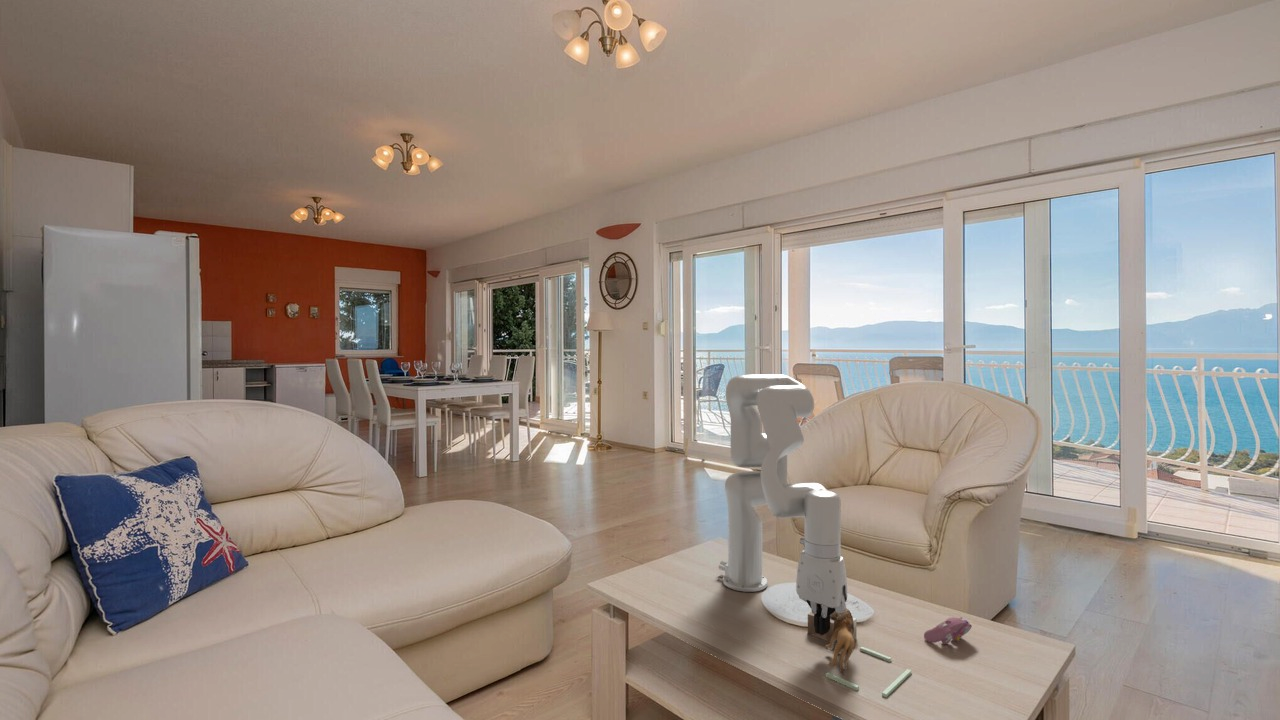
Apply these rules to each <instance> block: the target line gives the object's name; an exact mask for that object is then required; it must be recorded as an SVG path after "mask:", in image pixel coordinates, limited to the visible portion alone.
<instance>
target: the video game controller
mask: <svg viewBox="0 0 1280 720" xmlns="http://www.w3.org/2000/svg"><path fill="white" fill-rule="evenodd" d="M971 629H972V624H971V623H970V622H968V620H967V619H964V618H963V616H960V617H954V616H953V617H948V618H947V619H945V620H944V621H942V622H940V623H938V624H937V625H935V627H933V628H931V629H929V630H926V631H925V632H924V634H923V637H924V640H925V641H926V642H928V643H931V644H932V643H938V642H941V643H942V644H943V645H947V644H949V643H950V642H951V641H953V642H957V641H959V640H961V638H962V637H963V636H965V635H966V634H968V633H969V631H971Z"/></svg>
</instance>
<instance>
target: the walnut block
mask: <svg viewBox="0 0 1280 720" xmlns="http://www.w3.org/2000/svg"><path fill="white" fill-rule="evenodd" d="M853 622H854V633H853V635H852V636H853V639H854V640H856V639H857V633H858V632H857V630H858V629H857V627H858V626H857V625H858V623H857V618H856V617H853ZM833 623H834V621H833V620H831V619H830V630H829V631H828V632H827V633H825V634H824V635H820V634H819V633H818V634H817V633H815V627H814V614H813V613H812V611H810V612H809V613H807V634H809V635H811V636H815V637H817V638H820V639H822V640H825V641H828V642H830V641H831V637H832V635H833V633H834V632H833V628H834V625H833ZM834 645H837V640H836V641H835V643H834Z"/></svg>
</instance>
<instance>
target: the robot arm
mask: <svg viewBox="0 0 1280 720" xmlns="http://www.w3.org/2000/svg"><path fill="white" fill-rule="evenodd" d="M725 401H726V405H727V409H728V412H729V417H730V458H731V463H732V464H733V465H735V466H736V467H738V468H745V469H746V468H747V469H748V468H761V469H760V470H758V471H757V470H754V471H753V470H751V471H739V472H735V473H731V474H730V475H729V476H728V477H727V478H726V479H725V482H724V493H725V498H726V505H727V521H728V522H727V530H728V531H727V535H728V537H727V543H728V544H727V548H728V549H727V551H728V553H727V560H723V559H722V560H721V561H720V562H719V564H718V567H717V568H718V569H719V570H720V571H724V575H723V576H722V584H723V585H724V586H725V587H727V588H728V589H730V590H734V591H737V592H744V593H745V592H746V593H751V592H752V593H754V592H759V591H762V590H765V589H766V588H767V587H768V585H769V580H768V578H766V577H765V576H764V575H763V520H762V518H761V516H760V515H759V514H758V512H757V511H756V510H755V507H759V506H767V507H768V510H769V512H770V513H771V514H772V515H773V516H774V517H776V518H779V519H789V518H800V517H802V518H804V533H803V534H804V537H800V539H799V543H800V544H801V545H802V546H803V550H801V551H800V554H799V559H798V564H797V570H796V571H797V572H796V585H795V587H796V588H795V589H796V590H795V591H796V593H797V595H798V598H799V599H801V600H802V601H804V602H805V603H807V605H808V607H809V608H810V610H811V611H810V612H812V613H813V614H814V627H815V633H817V634H818V633H819V634H820V635H824V634H825V633H827V632H828V631H829V630H830V615H831V614H832V613H834V612H836V613H844V612H845V611H846V610H847V609H848V608H847V604H846V602H847V600H848V579H847V570H846V565H845V560H844V557H843V556H841V546H842V545H841V532H842V531H841V527H842V526H841V524H842V523H841V522H842V520H841V514H842V512H841V511H842V509H841V506H842V504H841V497H840V495H839V494H837V493H836V492H833V491H831V490H828V489H827V488H825V486H823V485H822V484H821V483H819V482H796V483H795V482H794V483H788V455H789V454H791V453H793V452H795V451H796V450H798V449H799V448H801V447H802V446H803V444H804V440H805V438H804V435H803V432H802V429H801V426H800V423H799V421H798V419H799V418H801V419H802V418H803V419H804V418H805V419H806V418H808V417H810V416H811V415H812V414H813V412H814V409H815V402H814V397H813V394H812V393H811V391H810V389H809V388H808V387H807V386H806V385H804V384H803V383H801V382H799V381H798V380H796V379H794V378H793V377H790V376H789V375H786V374H776V373H773V374H740V375H735V376H733V377H731V378H730V379H729V381H728V382H727V384H726V389H725ZM755 406H757V408H756V407H755ZM757 409H758V410H757ZM762 426H763V430H764V432H762ZM846 608H847V609H846Z"/></svg>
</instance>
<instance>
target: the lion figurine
mask: <svg viewBox="0 0 1280 720" xmlns="http://www.w3.org/2000/svg"><path fill="white" fill-rule="evenodd" d="M846 609H847V610H846V611H845V612H844V613H836V612H834V613H832V614H831V615H830V619H831V620H833V621H834V623H833V625H834V628H833V632H834V633H833V635H832V637H831V641H829V644H826V645H824V646H825V649H828V650H829V651H831V650H834V651H833V657H832V661H831V662H829V664H828V666H829V667H830V668H832V669H835V667H836V663H837V662H838V656H839V655H841V656H840V660H839V668H840V674H841V675H842V676H844V677H845V676H846V674H845V670H847V668H848V667H847V664H848V661H849V659H850V658H851V656H852V653H853V651H854V648H855V639H853V636H852V635H853V633H854V622H853V618H854V617H853V615H852V613H851V611H850V610H849V609H848V608H847V607H846ZM836 640H837V644H835V641H836ZM834 646H835V647H834ZM833 648H834V649H833Z"/></svg>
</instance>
